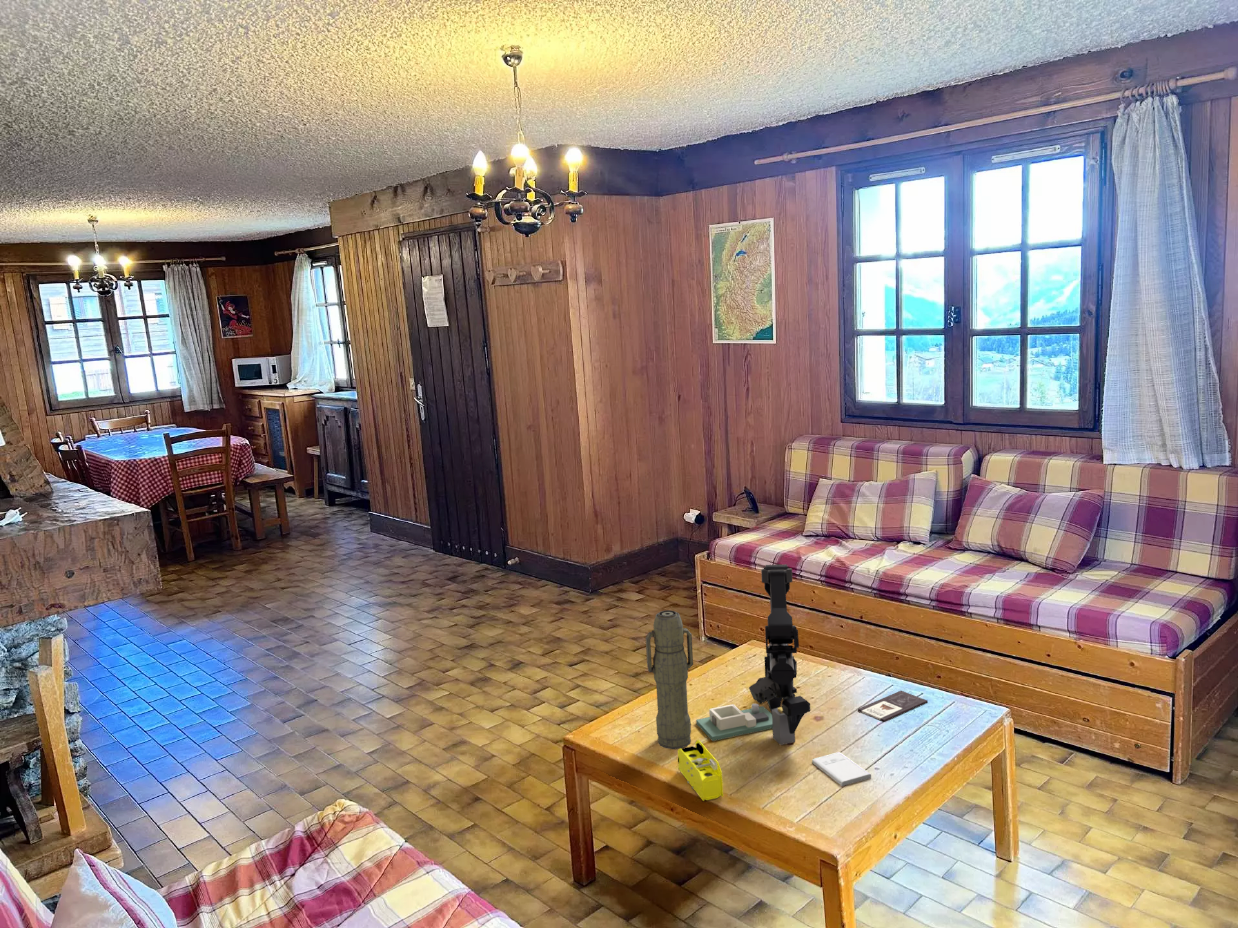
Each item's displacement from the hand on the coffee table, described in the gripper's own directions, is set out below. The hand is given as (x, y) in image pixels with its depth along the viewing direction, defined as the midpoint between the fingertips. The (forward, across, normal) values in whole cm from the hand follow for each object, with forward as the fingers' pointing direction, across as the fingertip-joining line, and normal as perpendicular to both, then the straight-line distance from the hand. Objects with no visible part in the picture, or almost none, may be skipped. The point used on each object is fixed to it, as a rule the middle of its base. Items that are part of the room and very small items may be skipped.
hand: (783, 725), depth 235 cm
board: (+4, -12, -7) cm, 15 cm away
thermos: (+4, -11, -26) cm, 28 cm away
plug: (+4, 0, 0) cm, 4 cm away
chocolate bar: (+4, -5, +36) cm, 37 cm away
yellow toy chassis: (+4, +12, -28) cm, 31 cm away
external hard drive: (+4, +19, +5) cm, 21 cm away
